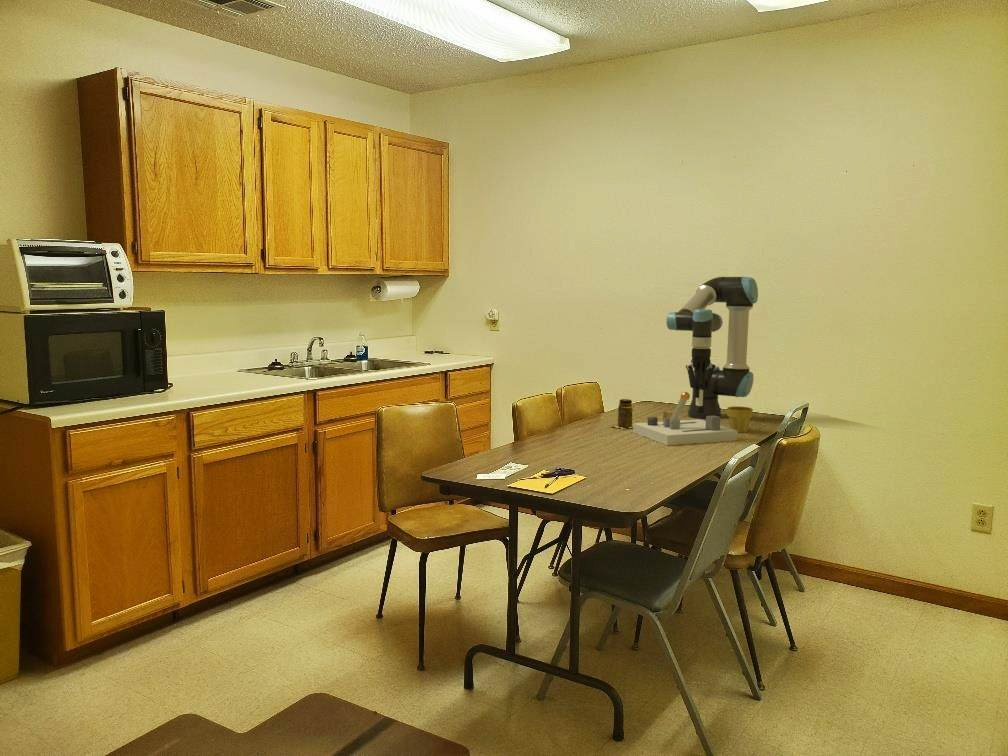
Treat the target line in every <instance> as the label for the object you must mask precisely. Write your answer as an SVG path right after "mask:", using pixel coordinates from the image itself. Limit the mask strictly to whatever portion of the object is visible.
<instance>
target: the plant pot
mask: <svg viewBox="0 0 1008 756" xmlns="http://www.w3.org/2000/svg"><path fill="white" fill-rule="evenodd" d="M753 411H754V409H753V408H752V407H749V406H728V407H727V408H726V415H727V417H728V420H729V426H730V427H729V428H731V429H734V430H737V433H746V432H748V430H749V427H750V422H751V418H752V417H753V416H754V415H753Z"/></svg>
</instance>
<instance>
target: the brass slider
mask: <svg viewBox="0 0 1008 756" xmlns="http://www.w3.org/2000/svg"><path fill="white" fill-rule="evenodd" d="M662 412H663V414H662V415H663V416H662V417H663V418H662V419H663V420H662V422H663V423H664V418H671V416H672V414H673V412H674V410H663V411H662Z"/></svg>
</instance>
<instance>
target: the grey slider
mask: <svg viewBox="0 0 1008 756" xmlns="http://www.w3.org/2000/svg"><path fill="white" fill-rule="evenodd" d="M721 417H722V416H721ZM721 417H718V416H715V415H714V416H706V419H705V421H706V429H710V430H720V426H721Z"/></svg>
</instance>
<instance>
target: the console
mask: <svg viewBox="0 0 1008 756" xmlns="http://www.w3.org/2000/svg"><path fill="white" fill-rule="evenodd" d="M658 419H659V417H657V416H647V422H638V423H637V422H636V423H633V422H632V427H633V428H632V429H633V430H632V431H633V432H634V433H633V432H632V433H633V434H635V433H637V434H639V435H638V436H640V435H642V436H641V437H643V436H645V437H647V438H646V439H648V438H650V439H649V440H651V439H652V440H651V441H653V440H655V441H654V442H656V441H658V442H657V443H659V442H660V443H659V444H661V443H663V444H662V445H664V444H665V446H667V445H670V446H679V445H678V444H683V445H692V444H693V443H696V444H705V443H706V442H709V443H721V442H720V441H722V442H733V441H732V440H736V441H737V440H738V432H737V430H734V429H731V427H726V426H723V425H720V430H710V429H706V420H703V419H701V418H696V419H685V420H684V419H682V420H680V419H678V420H670V418H664V423H663V421H658ZM669 421H670V423H669ZM637 434H636V435H637ZM645 437H644V438H645ZM706 444H707V443H706ZM693 445H694V444H693Z"/></svg>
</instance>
